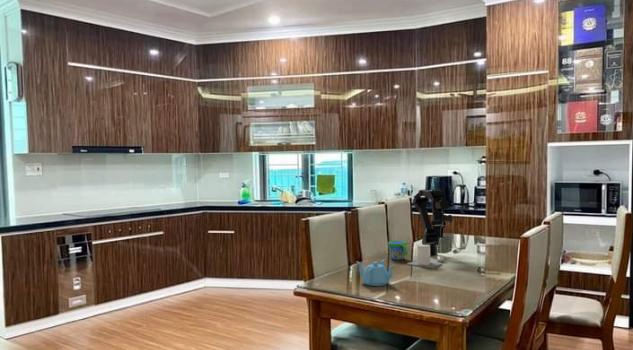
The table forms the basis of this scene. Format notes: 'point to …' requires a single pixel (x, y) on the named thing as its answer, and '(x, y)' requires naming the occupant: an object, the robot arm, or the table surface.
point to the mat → (431, 265)
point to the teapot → (375, 274)
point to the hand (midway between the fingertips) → (440, 237)
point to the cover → (423, 254)
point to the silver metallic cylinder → (440, 259)
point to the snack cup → (397, 249)
